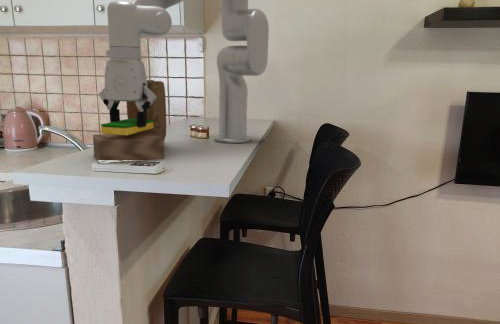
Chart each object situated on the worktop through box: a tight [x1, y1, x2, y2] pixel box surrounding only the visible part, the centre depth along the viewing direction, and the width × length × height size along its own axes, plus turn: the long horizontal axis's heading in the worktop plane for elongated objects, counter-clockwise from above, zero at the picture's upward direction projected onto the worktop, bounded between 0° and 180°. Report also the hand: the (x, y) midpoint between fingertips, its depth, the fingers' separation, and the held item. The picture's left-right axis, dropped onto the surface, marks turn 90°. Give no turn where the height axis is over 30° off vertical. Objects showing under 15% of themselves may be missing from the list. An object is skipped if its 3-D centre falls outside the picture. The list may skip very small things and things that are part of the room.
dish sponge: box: [100, 118, 153, 135], centre depth 100 cm, size 7×14×2 cm, turn 166°
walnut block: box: [92, 132, 165, 161], centre depth 101 cm, size 16×10×6 cm, turn 119°
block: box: [126, 79, 167, 141], centre depth 114 cm, size 11×8×20 cm
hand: (128, 125), depth 99 cm, fingers closed on dish sponge, 7 cm apart
